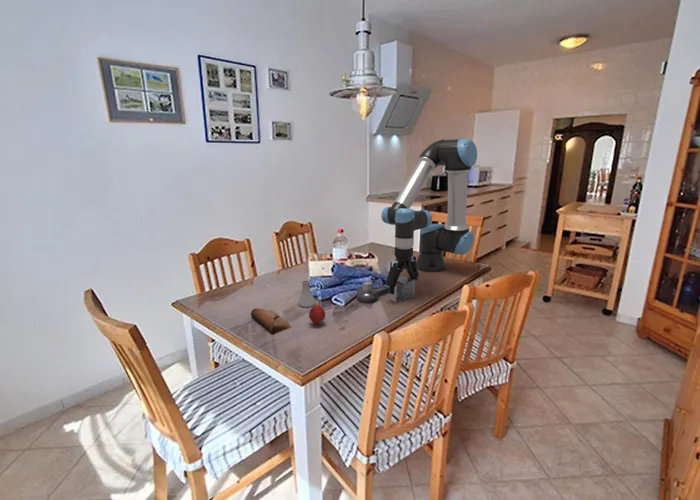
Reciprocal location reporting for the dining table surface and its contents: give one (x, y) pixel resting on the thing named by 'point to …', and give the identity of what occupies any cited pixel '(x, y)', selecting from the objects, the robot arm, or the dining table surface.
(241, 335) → the dining table surface
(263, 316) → the sunglasses case
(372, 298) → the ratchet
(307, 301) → the flask
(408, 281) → the rounded charcoal cube
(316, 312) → the onion
